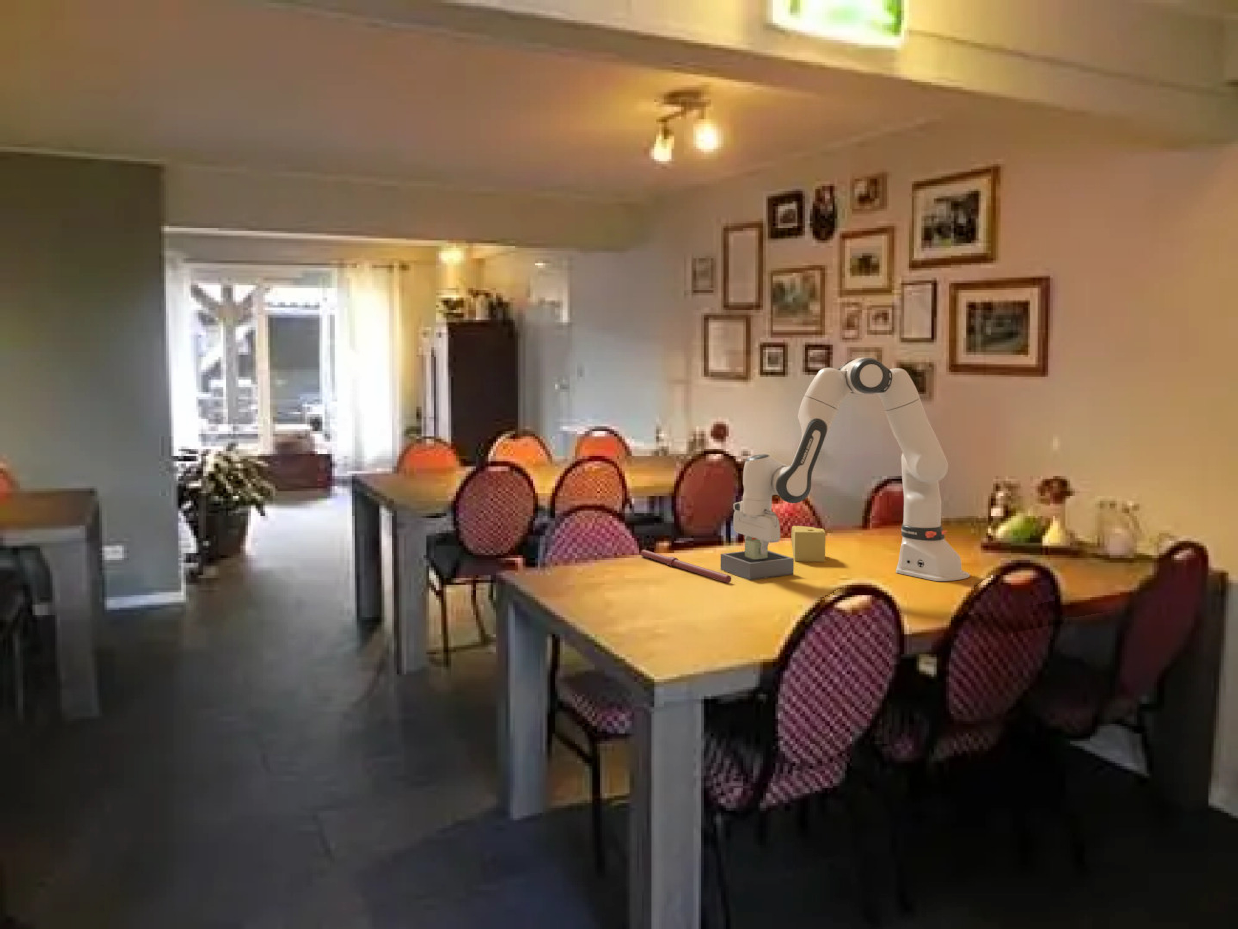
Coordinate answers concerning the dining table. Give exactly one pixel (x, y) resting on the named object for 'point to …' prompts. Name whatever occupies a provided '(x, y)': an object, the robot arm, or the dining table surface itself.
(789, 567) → the bin
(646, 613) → the dining table surface
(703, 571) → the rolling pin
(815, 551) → the cheese
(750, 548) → the green cube
